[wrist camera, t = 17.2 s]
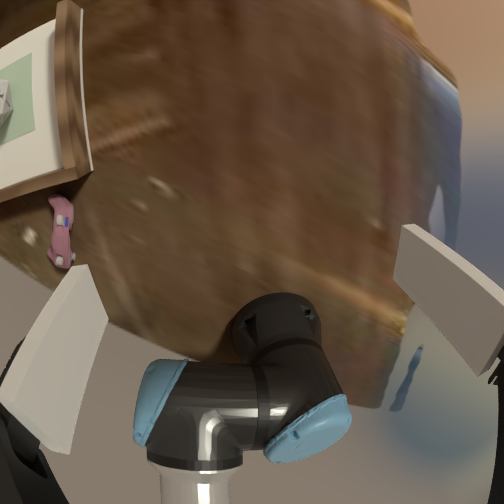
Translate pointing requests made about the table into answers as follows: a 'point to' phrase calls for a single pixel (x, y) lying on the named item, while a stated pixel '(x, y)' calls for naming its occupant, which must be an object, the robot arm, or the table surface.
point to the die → (5, 100)
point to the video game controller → (61, 232)
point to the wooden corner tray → (45, 107)
